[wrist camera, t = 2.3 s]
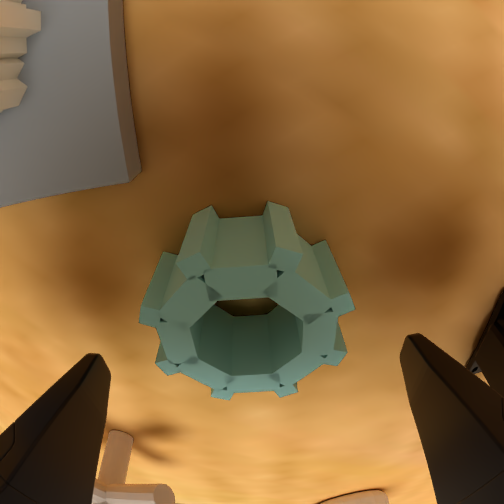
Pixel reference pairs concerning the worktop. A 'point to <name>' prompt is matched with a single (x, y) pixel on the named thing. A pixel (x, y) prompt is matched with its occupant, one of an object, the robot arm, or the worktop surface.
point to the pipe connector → (124, 477)
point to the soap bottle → (361, 498)
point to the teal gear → (247, 287)
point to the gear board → (70, 105)
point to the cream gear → (14, 48)
